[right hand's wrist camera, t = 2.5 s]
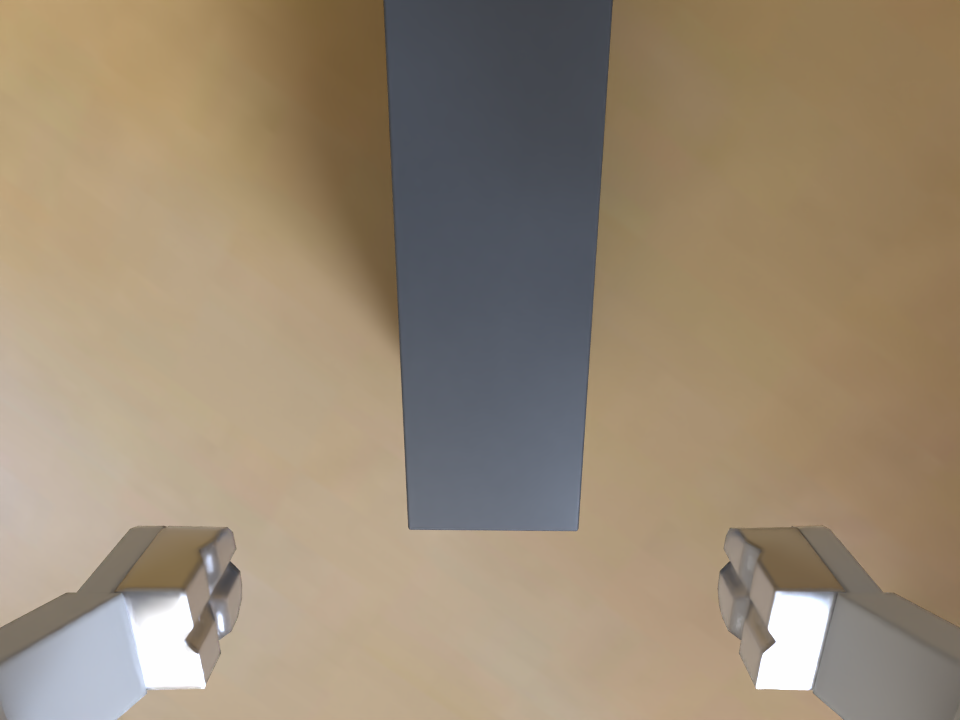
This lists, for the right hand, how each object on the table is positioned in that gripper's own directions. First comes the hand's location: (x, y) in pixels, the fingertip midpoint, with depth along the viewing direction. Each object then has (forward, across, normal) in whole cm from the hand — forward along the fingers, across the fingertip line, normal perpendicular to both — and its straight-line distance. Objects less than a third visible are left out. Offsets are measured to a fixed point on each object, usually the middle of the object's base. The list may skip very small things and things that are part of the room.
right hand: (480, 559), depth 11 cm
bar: (+14, 0, -8) cm, 16 cm away
